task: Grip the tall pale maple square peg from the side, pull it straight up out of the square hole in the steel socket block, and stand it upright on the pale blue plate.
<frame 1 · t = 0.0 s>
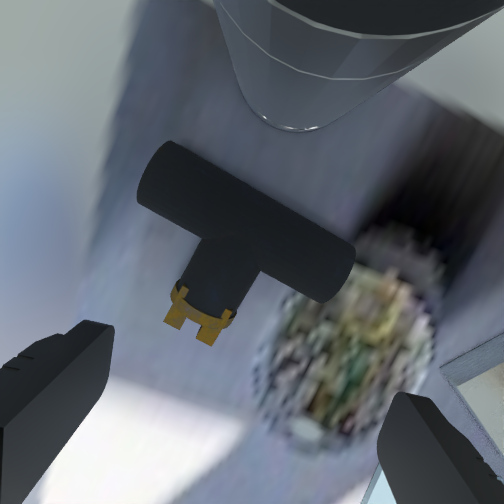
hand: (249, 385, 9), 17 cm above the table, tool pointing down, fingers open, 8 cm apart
pipe connector: (231, 252, 26), on the table
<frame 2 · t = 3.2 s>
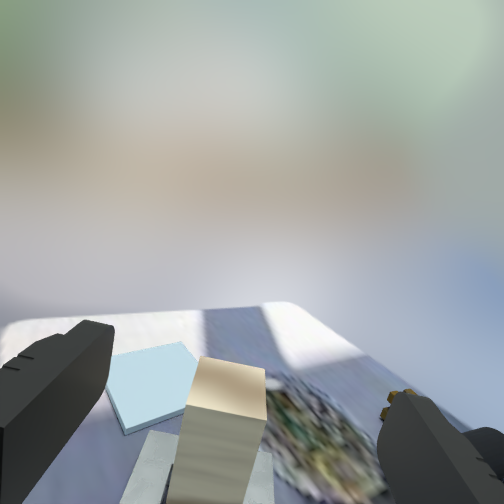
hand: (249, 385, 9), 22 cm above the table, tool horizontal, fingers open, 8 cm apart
pale blue plate: (158, 381, 39), on the table
maple peg: (210, 463, 23), in the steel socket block
pipe connector: (424, 455, 38), on the table
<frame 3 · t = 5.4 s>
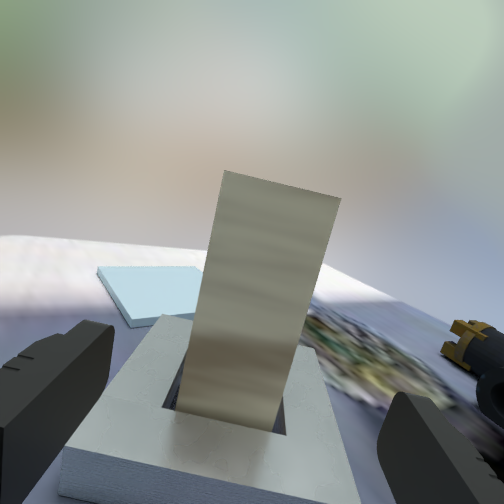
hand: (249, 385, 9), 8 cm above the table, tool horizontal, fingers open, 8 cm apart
pale blue plate: (169, 293, 33), on the table
maple peg: (247, 311, 17), in the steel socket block
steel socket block: (221, 416, 18), on the table
pipe connector: (503, 393, 30), on the table
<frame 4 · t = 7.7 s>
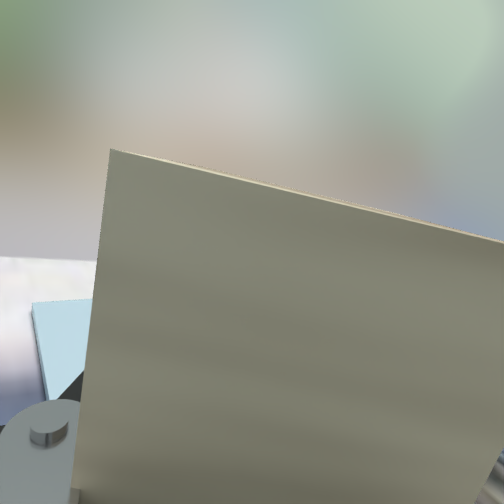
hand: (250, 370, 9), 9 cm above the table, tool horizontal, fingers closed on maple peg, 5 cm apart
pale blue plate: (133, 340, 24), on the table
maple peg: (232, 494, 7), in the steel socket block, touching gripper
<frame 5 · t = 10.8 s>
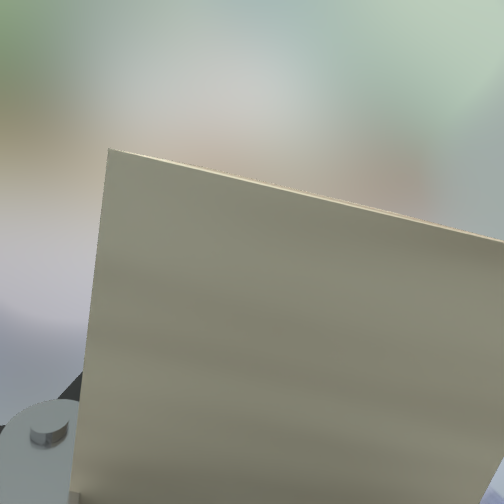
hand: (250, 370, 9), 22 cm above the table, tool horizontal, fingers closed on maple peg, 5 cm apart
maple peg: (232, 496, 7), point 20 cm above the table, touching gripper
when the fingers open (10 cm above the table, at t = 14.0 s): maple peg stays where it is, resting on pale blue plate.
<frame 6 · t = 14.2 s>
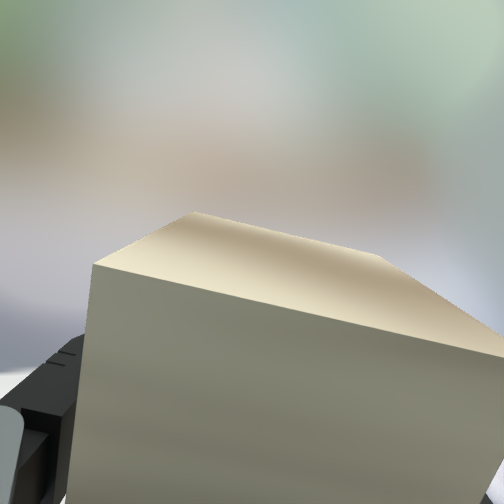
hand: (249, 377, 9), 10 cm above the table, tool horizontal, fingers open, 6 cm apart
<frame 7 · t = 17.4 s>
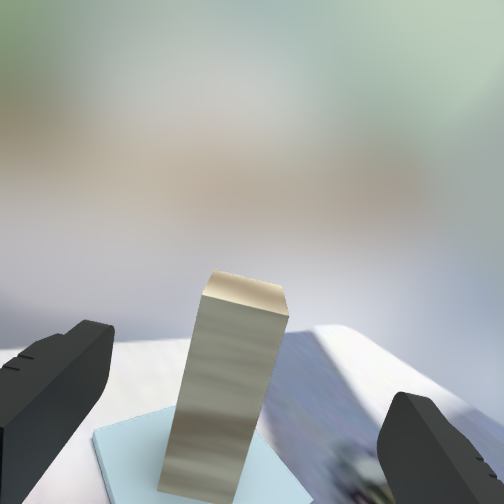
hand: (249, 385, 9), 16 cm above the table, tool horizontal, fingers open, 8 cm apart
pale blue plate: (199, 472, 23), on the table
maple peg: (222, 383, 21), on the pale blue plate, point 8 cm above the table
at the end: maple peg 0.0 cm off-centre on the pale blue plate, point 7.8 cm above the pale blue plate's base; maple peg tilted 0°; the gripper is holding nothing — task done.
